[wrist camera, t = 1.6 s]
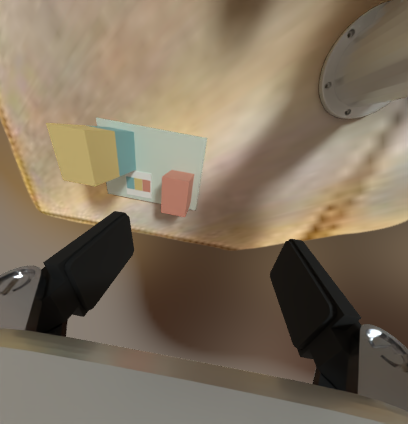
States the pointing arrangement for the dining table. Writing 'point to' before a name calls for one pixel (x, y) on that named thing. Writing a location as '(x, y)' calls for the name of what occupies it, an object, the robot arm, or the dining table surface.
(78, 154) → the tower base
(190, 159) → the mat
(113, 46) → the dining table surface
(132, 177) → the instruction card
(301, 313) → the robot arm
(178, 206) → the brick
